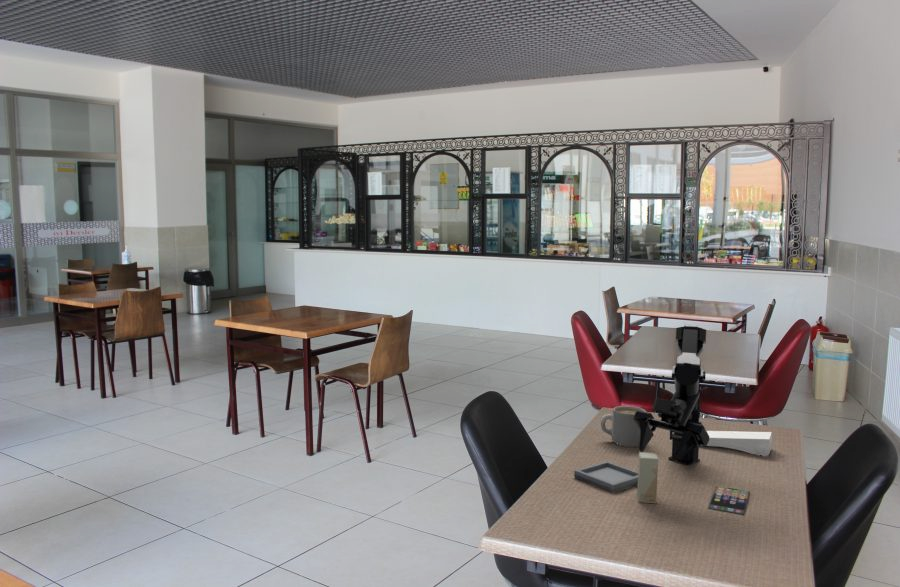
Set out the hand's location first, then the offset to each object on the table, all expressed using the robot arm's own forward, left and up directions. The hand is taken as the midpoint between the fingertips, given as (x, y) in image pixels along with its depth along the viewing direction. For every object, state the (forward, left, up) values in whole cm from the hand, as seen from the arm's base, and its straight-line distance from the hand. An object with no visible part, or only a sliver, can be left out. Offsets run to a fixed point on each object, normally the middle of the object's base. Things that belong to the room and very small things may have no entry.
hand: (656, 455), depth 177 cm
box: (0, -3, -11) cm, 11 cm away
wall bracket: (-14, +51, -11) cm, 54 cm away
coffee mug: (-34, +30, -11) cm, 46 cm away
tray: (-14, 0, -10) cm, 17 cm away
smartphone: (+13, +12, -11) cm, 21 cm away
